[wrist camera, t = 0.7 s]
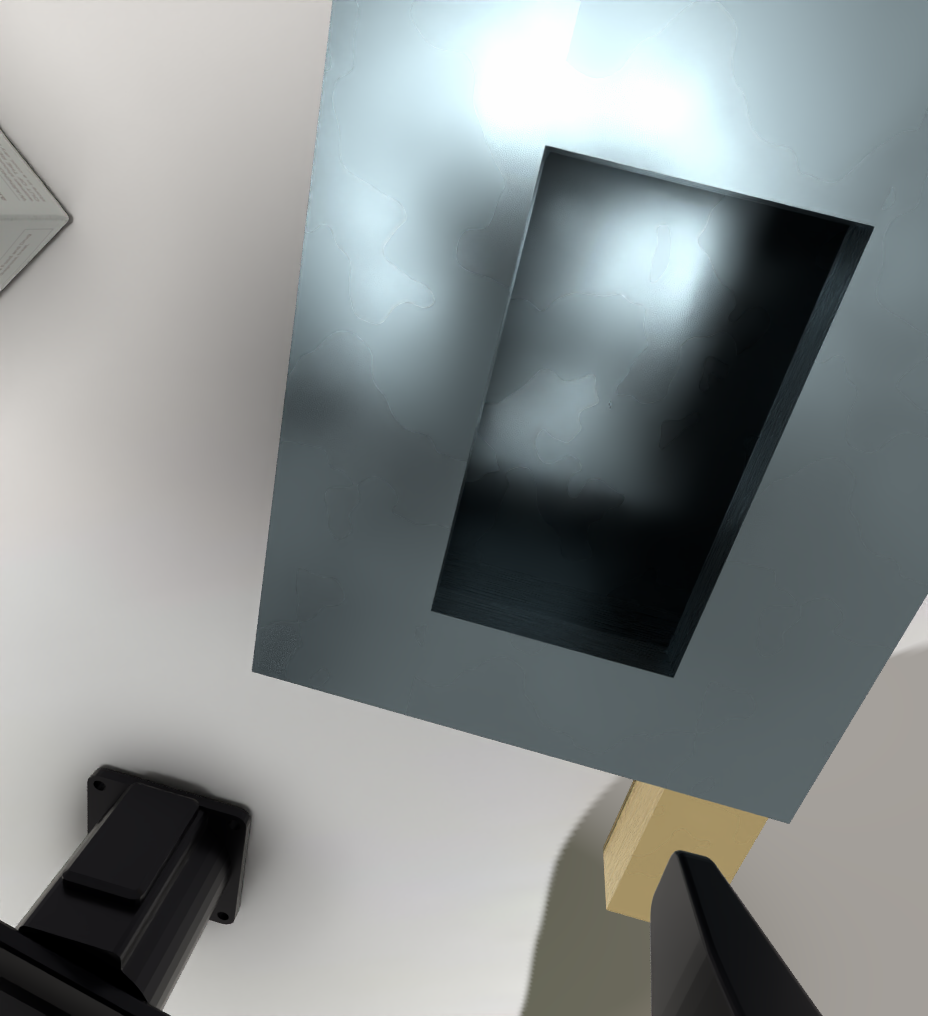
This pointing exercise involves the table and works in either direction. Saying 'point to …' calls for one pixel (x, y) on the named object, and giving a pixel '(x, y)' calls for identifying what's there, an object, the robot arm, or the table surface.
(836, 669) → the box
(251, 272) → the table surface
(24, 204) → the supplement box
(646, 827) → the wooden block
